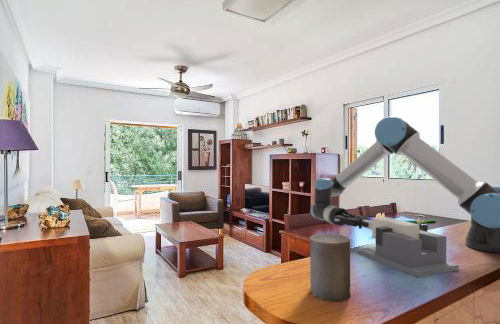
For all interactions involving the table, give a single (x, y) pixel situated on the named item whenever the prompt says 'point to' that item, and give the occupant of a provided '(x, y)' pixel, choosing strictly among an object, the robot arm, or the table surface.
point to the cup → (423, 227)
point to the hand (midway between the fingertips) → (376, 226)
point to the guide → (410, 252)
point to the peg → (396, 226)
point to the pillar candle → (330, 266)
